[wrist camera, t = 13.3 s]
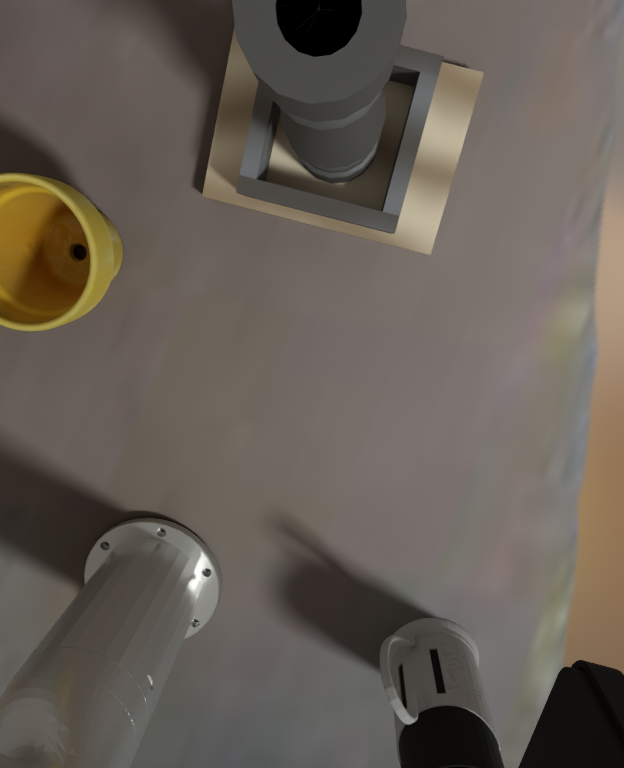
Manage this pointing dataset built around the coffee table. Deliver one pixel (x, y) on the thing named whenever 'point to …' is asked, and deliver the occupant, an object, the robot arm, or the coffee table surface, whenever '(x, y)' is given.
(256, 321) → the coffee table surface
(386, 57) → the candle holder
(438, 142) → the socket board
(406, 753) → the glass holder
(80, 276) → the plant pot
